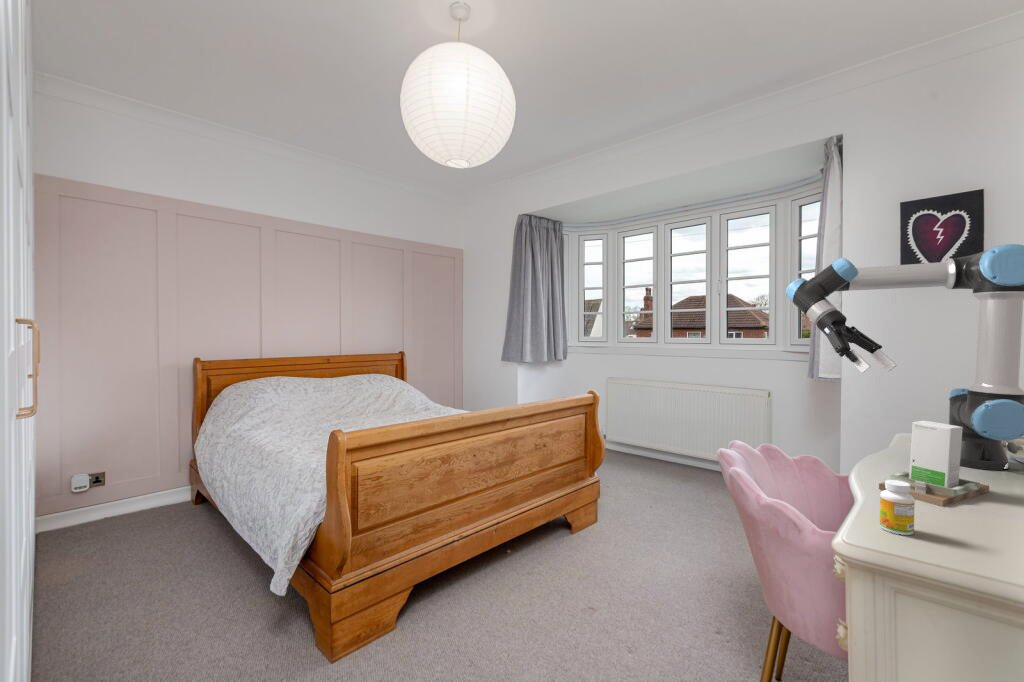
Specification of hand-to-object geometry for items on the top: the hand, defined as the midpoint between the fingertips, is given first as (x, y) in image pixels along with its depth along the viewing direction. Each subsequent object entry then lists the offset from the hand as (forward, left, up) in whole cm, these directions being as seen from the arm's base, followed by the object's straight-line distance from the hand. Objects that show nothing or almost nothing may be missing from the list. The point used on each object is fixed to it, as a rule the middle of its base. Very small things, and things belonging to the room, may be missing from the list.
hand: (880, 369), depth 136 cm
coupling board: (+5, +15, -30) cm, 34 cm away
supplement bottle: (+42, +24, -30) cm, 57 cm away
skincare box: (+5, +15, -28) cm, 32 cm away
